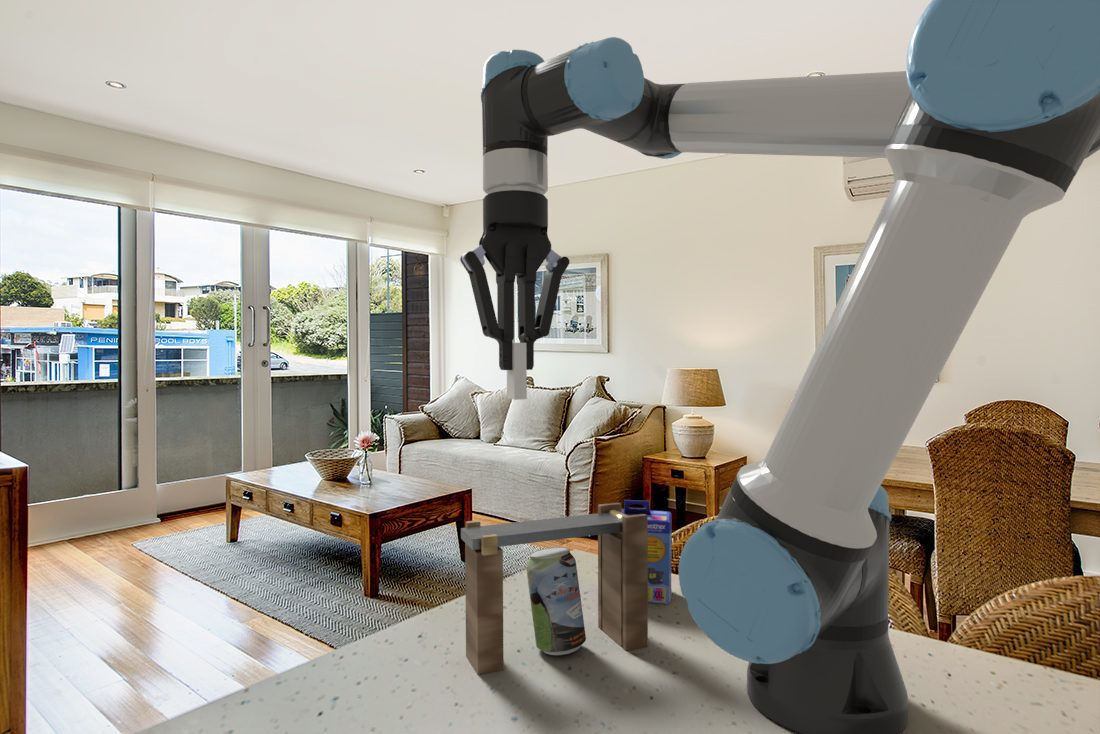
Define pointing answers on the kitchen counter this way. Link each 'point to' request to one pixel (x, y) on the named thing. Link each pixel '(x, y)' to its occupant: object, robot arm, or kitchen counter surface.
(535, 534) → the grey bridge beam
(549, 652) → the beverage can
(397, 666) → the kitchen counter surface
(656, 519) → the ink cartridge box
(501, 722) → the kitchen counter surface
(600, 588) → the can clamp frame
